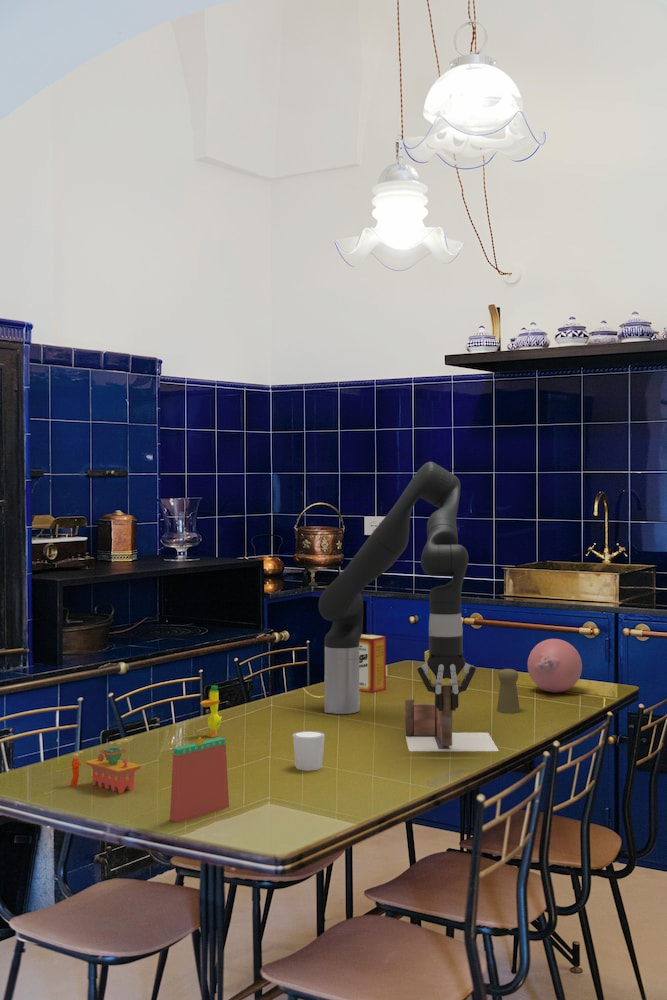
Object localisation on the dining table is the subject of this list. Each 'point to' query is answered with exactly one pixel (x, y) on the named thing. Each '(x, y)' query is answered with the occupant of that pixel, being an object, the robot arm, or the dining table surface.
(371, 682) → the baking soda box
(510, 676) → the brown tall tapered piece
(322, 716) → the dining table surface
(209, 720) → the toy figure
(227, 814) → the dining table surface
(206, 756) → the toy building block set
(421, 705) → the fence fixed section
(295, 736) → the white short tapered cylinder
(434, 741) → the card
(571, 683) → the pink rubber ball
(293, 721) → the dining table surface
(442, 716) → the hinged fence panel
